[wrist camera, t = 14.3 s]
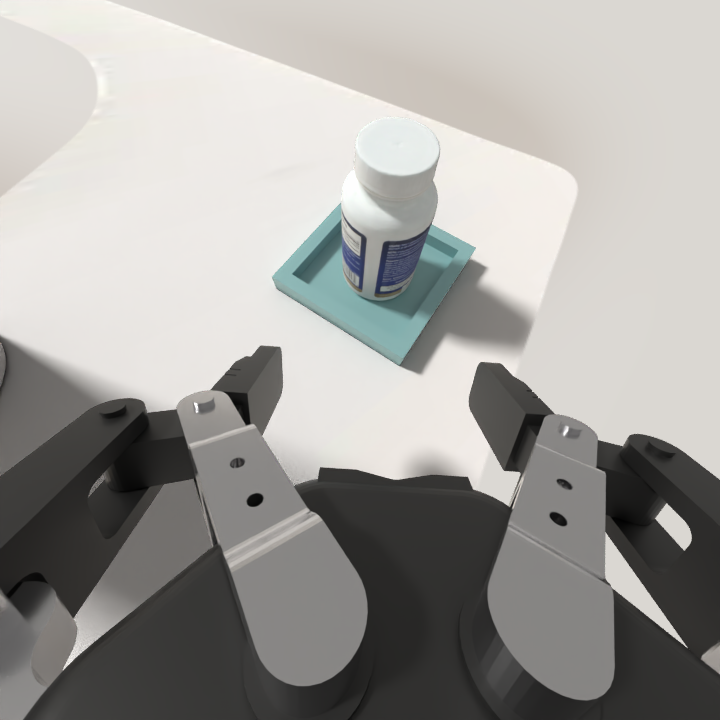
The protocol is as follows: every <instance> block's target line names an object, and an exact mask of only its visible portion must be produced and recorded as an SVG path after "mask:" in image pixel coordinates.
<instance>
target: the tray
mask: <svg viewBox="0 0 720 720" xmlns="http://www.w3.org/2000/svg"><path fill="white" fill-rule="evenodd" d="M475 249H476V248H475V247H473V246H471V245H469V244H468V243H466V242H464V241H462V240H460V239H458V238H456V237H454V236H453V235H451V234H449V233H447V232H445V231H443V230H441V229H439V228H438V227H436V226H434V225H432V224H431V227H430V230H429V232H428V235H427V238H426V241H425V244H424V247H423V249H422V252H421V255H420V258H419V261H418V264H417V266H416V269H415V272H414V275H413V278H412V280H411V282H410V284H409V286H408V287H407V289H406V290H405V291H404V292H403V293H401V294H400V295H399V296H397V297H395V298H392V299H388V300H383V301H377V300H370V299H367V298H364V297H362V296H360V295H358V294H356V293H355V292H354V291H353V290H352V289H351V288H350V287H349V285H348V284H347V282H346V280H345V278H344V274H343V264H342V218H341V203H340V204H339V205H338V206H337V207H336V208H335V209H334V211H333V212H332V213H331V214H330V215H329V216H328V217H327V218H326V219H325V220H324V221H323V222H322V224H321V225H320V226H319V227H318V228H317V229H316V230H315V231H314V232H313V233H312V234H311V235H310V236H309V238H308V239H307V240H306V241H305V242H304V243H303V244H302V245H301V246H300V247H299V248H298V249H297V250H296V252H295V253H294V254H293V255H292V256H291V257H290V258H289V259H288V260H287V261H286V262H285V263H284V264H283V266H282V267H281V268H280V269H279V270H278V271H277V272H276V273H275V274H274V275H273V276H272V278H273V281H274V283H275V286H276V288H277V289H278V290H280V291H281V292H283V293H284V294H286V295H287V296H289V297H291V298H292V299H294V300H295V301H297V302H299V303H300V304H302V305H303V306H305V307H307V308H308V309H310V310H311V311H313V312H315V313H316V314H318V315H319V316H321V317H322V318H324V319H326V320H327V321H329V322H330V323H332V324H334V325H335V326H337V327H338V328H340V329H342V330H343V331H345V332H346V333H348V334H349V335H351V336H353V337H354V338H356V339H357V340H359V341H361V342H362V343H364V344H365V345H367V346H369V347H370V348H372V349H373V350H375V351H377V352H378V353H380V354H381V355H383V356H384V357H386V358H388V359H389V360H391V361H392V362H394V363H396V364H397V365H399V366H400V364H401V363H402V361H403V360H404V358H405V357H406V355H407V354H408V352H409V350H410V349H411V347H412V346H413V344H414V343H415V341H416V340H417V338H418V337H419V335H420V334H421V332H422V331H423V329H424V328H425V326H426V325H427V323H428V321H429V320H430V318H431V317H432V315H433V314H434V312H435V311H436V309H437V308H438V306H439V305H440V303H441V302H442V300H443V299H444V297H445V296H446V294H447V293H448V291H449V289H450V288H451V286H452V285H453V283H454V282H455V280H456V279H457V277H458V276H459V274H460V273H461V271H462V270H463V268H464V267H465V265H466V264H467V262H468V261H469V259H470V257H471V255H472V254H473V252H474V250H475Z"/></svg>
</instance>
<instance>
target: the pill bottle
mask: <svg viewBox="0 0 720 720" xmlns="http://www.w3.org/2000/svg"><path fill="white" fill-rule="evenodd" d="M439 156H440V145H439V142H438V140H437V138H436V136H435V135H434V133H433V132H432V131H431V130H430V129H429V128H428V127H426V126H424V125H423V124H421V123H419V122H417V121H414V120H412V119H408V118H402V117H386V118H381V119H377V120H375V121H372V122H370V123H369V124H367V125H366V126H365V127H363V128H362V130H361V131H360V132H359V134H358V136H357V139H356V144H355V159H354V169H353V170H352V171H351V172H350V173H349V175H348V176H347V178H346V180H345V182H344V185H343V188H342V194H341V218H342V264H343V274H344V278H345V280H346V282H347V284H348V285H349V287H350V288H351V289H352V290H353V291H354V292H355V293H356V294H358V295H360V296H362V297H364V298H367V299H370V300H377V301H383V300H388V299H392V298H395V297H397V296H399V295H400V294H401V293H403V292H404V291H405V290H406V289H407V287H408V286H409V284H410V282H411V280H412V278H413V275H414V272H415V269H416V266H417V264H418V261H419V258H420V255H421V252H422V249H423V247H424V244H425V241H426V238H427V235H428V232H429V230H430V227H431V224H432V221H433V219H434V216H435V212H436V208H437V203H438V195H437V190H436V186H435V184H434V182H433V178H434V175H435V171H436V167H437V163H438V160H439Z"/></svg>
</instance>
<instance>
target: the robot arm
mask: <svg viewBox="0 0 720 720" xmlns="http://www.w3.org/2000/svg"><path fill="white" fill-rule="evenodd" d="M5 369H6V356H5V353H4V349H3V346H2V344H1V342H0V387H1V384H2V381H3V377H4V373H5ZM282 388H283V374H282V352H281V348H280V347H274V346H260V347H259V348H258V349H257V350H256V352H255V353H254V354H253V355H252V356H251V357H248V356H246V357H244V358H242V359H240V360H238V361H236V362H235V363H234V364H233V365H232V366H231V368H230V370H228V371H227V372H226V373H225V375H223V376H222V378H221V379H220V380H219V381H218V382H217V383H216V384H215V385H214V386H213V388H212V389H211V390H210V391H202V392H197V393H194V394H191V395H189V396H187V397H185V398H184V399H182V400H181V401H180V402H179V403H178V405H177V409H176V410H168V411H160V412H151V413H147V411H146V407H145V404H144V402H143V401H141V400H138V399H133V398H124V399H117V400H112V401H108V402H105V403H102V404H100V405H97V406H95V407H93V408H91V409H90V410H88V411H87V412H85V413H84V414H83V415H81V416H80V417H79V418H77V419H76V420H75V421H73V422H72V423H71V424H69V425H68V426H67V427H65V428H64V429H63V430H62V431H60V432H59V433H58V434H56V435H55V436H54V437H52V438H51V439H50V440H48V441H47V442H46V443H44V444H43V445H42V446H40V447H39V448H38V449H36V450H35V451H34V452H32V453H31V454H30V455H28V456H27V457H26V458H24V459H23V460H22V461H20V462H19V463H18V464H16V465H15V466H14V467H12V468H11V469H10V470H8V471H7V472H6V473H5V474H3V475H2V476H1V477H0V720H720V480H719V479H718V478H716V477H715V476H714V475H713V474H711V473H710V472H709V471H708V470H706V469H705V468H704V467H702V466H701V465H700V464H698V463H697V462H696V461H694V460H693V459H692V458H691V457H689V456H688V455H687V454H686V453H684V452H683V451H681V450H680V449H678V448H677V447H675V446H673V445H671V444H669V443H667V442H665V441H662V440H660V439H657V438H654V437H651V436H647V435H642V434H633V435H630V436H629V437H628V439H627V441H626V442H625V444H624V446H619V445H615V444H611V443H607V442H603V441H599V440H598V437H597V435H596V433H595V432H594V431H593V430H592V429H591V428H590V427H588V426H587V425H585V424H584V423H582V422H580V421H577V420H576V419H573V418H570V417H567V416H563V415H556V414H554V413H553V412H552V411H551V410H550V408H548V406H547V405H546V404H545V403H544V402H543V401H542V400H541V399H540V398H538V396H537V395H536V394H535V393H534V392H532V390H531V389H530V388H529V387H528V386H527V385H526V384H525V383H524V382H522V381H520V380H519V379H517V378H515V377H514V376H512V375H511V374H510V373H509V372H508V370H507V369H506V368H505V367H504V366H503V365H502V364H500V363H487V362H481V363H479V365H478V367H477V370H476V373H475V377H474V381H473V384H472V388H471V392H470V395H469V407H470V410H471V412H472V414H473V416H474V418H475V420H476V421H477V423H478V425H479V427H480V429H481V430H482V432H483V434H484V436H485V438H486V439H487V441H488V443H489V445H490V447H491V448H492V450H493V452H494V454H495V456H496V457H497V459H498V461H499V463H500V465H501V467H502V468H503V470H504V471H515V472H520V473H521V475H520V477H519V480H518V482H517V485H516V487H515V490H514V493H513V495H512V498H511V501H510V503H509V506H507V505H506V504H504V503H503V502H501V501H499V500H497V499H495V498H493V497H491V496H489V495H487V494H484V493H482V492H479V491H476V490H473V489H472V486H471V484H470V481H469V479H468V477H459V476H443V475H427V476H420V477H414V478H408V479H401V480H392V479H388V478H385V477H381V476H377V475H374V474H370V473H366V472H363V471H359V470H351V469H336V468H321V467H320V470H319V476H318V479H316V480H311V481H307V482H303V483H300V484H298V485H295V486H293V484H292V483H291V481H290V480H289V478H288V476H287V475H286V473H285V472H284V470H283V469H282V467H281V465H280V464H279V462H278V461H277V459H276V458H275V456H274V454H273V453H272V451H271V450H270V448H269V446H268V445H267V443H266V442H265V440H264V439H263V437H262V435H263V433H264V431H265V429H266V426H267V424H268V422H269V420H270V418H271V416H272V414H273V412H274V409H275V407H276V405H277V403H278V401H279V399H280V397H281V393H282ZM102 474H103V475H104V477H105V480H104V481H103V482H102V483H101V484H100V486H99V487H98V488H97V489H96V490H95V491H94V492H93V493H92V494H91V495H90V497H89V498H88V495H89V492H90V489H91V487H92V486H93V484H94V483H95V482H96V481H97V480H98V478H99V477H100V476H101V475H102ZM189 479H193V482H194V485H195V488H196V492H197V495H198V499H199V502H200V506H201V509H202V513H203V516H204V520H205V523H206V527H207V530H208V534H209V538H210V542H211V546H212V548H211V549H210V550H208V551H207V552H206V553H205V554H203V555H202V556H201V557H200V558H198V559H197V560H196V561H195V562H193V563H192V564H191V565H190V566H188V567H187V568H186V569H185V570H183V571H182V572H181V573H180V574H178V575H177V576H176V577H175V578H173V579H172V580H171V581H170V582H169V583H167V584H166V585H165V586H164V587H162V588H161V589H160V590H159V591H157V592H156V593H155V594H154V595H152V596H151V597H150V598H149V599H147V600H146V601H145V602H144V603H142V604H141V605H140V606H139V607H137V608H136V609H135V610H134V611H132V612H131V613H130V614H129V615H128V616H126V617H125V618H124V619H123V620H121V621H120V622H119V623H118V624H116V625H115V626H114V627H113V628H111V629H110V630H109V631H108V632H106V633H105V634H104V635H103V636H101V637H100V638H99V639H98V640H96V641H95V642H94V643H93V644H92V645H90V646H89V647H88V648H87V649H86V650H85V651H83V652H82V653H81V654H80V655H79V656H78V657H76V658H75V659H74V660H73V661H72V662H71V663H70V664H69V665H68V666H67V667H66V668H65V669H64V670H63V668H64V666H65V664H66V662H67V660H68V658H69V656H70V654H71V652H72V650H73V647H74V644H75V642H76V637H77V626H76V622H75V621H74V619H73V618H74V617H75V615H76V614H77V612H78V611H79V609H80V608H81V606H82V605H83V603H84V602H85V600H86V599H87V597H88V596H89V595H90V593H91V592H92V590H93V589H94V587H95V586H96V584H97V583H98V581H99V580H100V578H101V577H102V575H103V574H104V572H105V571H106V569H107V568H108V566H109V565H110V563H111V562H112V560H113V559H114V557H115V556H116V555H117V553H118V552H119V550H120V549H121V547H122V546H123V544H124V543H125V541H126V540H127V538H128V537H129V535H130V534H131V532H132V531H133V529H134V528H135V526H136V525H137V523H138V522H139V520H140V519H141V517H142V516H143V515H144V513H145V512H146V510H147V509H148V507H149V506H150V504H151V503H152V501H153V500H154V498H155V497H156V495H157V494H158V492H159V491H160V489H161V488H162V486H163V485H164V484H167V483H173V482H178V481H183V480H189ZM666 503H668V505H669V506H670V507H671V508H672V509H673V510H674V511H675V512H676V513H677V514H678V515H679V516H680V517H681V518H682V519H683V520H684V521H685V522H686V523H687V525H688V526H689V528H690V531H691V534H692V541H691V544H690V545H689V546H688V547H687V549H686V550H685V551H684V550H683V549H682V548H681V547H680V546H679V545H678V544H677V543H676V542H675V540H674V539H673V538H672V537H671V536H670V535H669V534H668V533H667V532H666V530H664V528H663V527H662V526H661V525H660V524H659V523H658V522H657V521H656V519H655V518H656V516H657V515H658V514H659V512H660V511H661V509H662V508H663V507H664V506H665V504H666ZM605 532H606V533H607V535H608V536H609V537H610V539H611V540H612V542H613V543H614V545H615V546H616V547H617V549H618V550H619V552H620V553H621V554H622V556H623V557H624V558H625V560H626V561H627V563H628V564H629V566H630V567H631V568H632V570H633V571H634V573H635V574H636V575H637V577H638V578H639V580H640V581H641V582H642V584H643V585H644V586H645V588H646V590H647V591H648V592H649V593H650V595H651V597H652V598H653V599H654V601H655V602H656V604H657V605H658V606H659V608H660V609H661V611H662V612H663V613H664V615H665V616H666V618H667V619H668V621H669V622H670V623H671V625H672V626H673V627H674V629H675V630H676V632H677V633H678V635H679V636H680V637H681V639H682V640H683V642H684V643H685V644H686V646H687V647H688V648H686V647H685V646H684V645H683V644H681V643H680V642H679V641H678V640H676V639H675V638H674V637H672V636H671V635H670V634H669V633H668V632H666V631H665V630H664V629H662V628H661V627H660V626H659V625H658V624H656V623H655V622H654V621H653V620H651V619H650V618H649V617H648V616H646V615H645V614H644V613H642V612H641V611H640V610H639V609H638V608H636V607H635V606H634V605H632V604H631V603H630V602H628V601H627V600H626V599H625V598H623V597H622V596H621V595H620V594H618V593H617V592H616V591H615V590H613V589H612V587H611V585H610V584H609V583H608V582H607V581H606V579H605Z"/></svg>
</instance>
